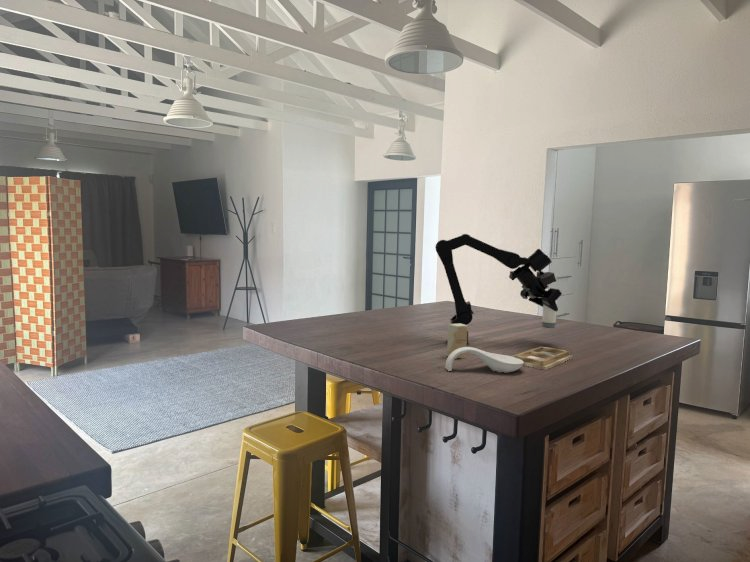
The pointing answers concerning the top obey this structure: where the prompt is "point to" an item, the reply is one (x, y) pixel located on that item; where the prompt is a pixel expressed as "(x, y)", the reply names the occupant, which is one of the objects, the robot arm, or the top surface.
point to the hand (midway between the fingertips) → (552, 309)
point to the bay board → (543, 357)
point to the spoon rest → (488, 360)
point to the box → (457, 338)
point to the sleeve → (548, 317)
